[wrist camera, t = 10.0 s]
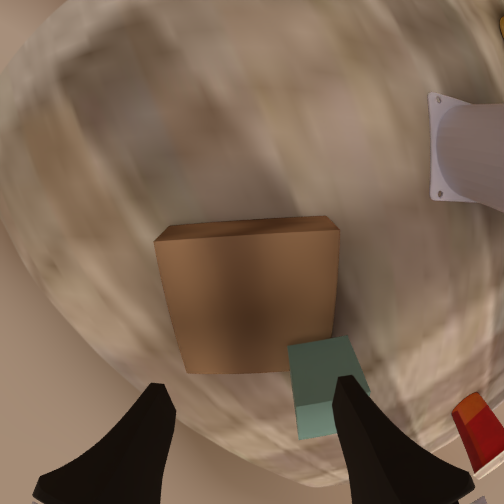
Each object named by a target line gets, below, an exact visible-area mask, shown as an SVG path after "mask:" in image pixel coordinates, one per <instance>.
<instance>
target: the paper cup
mask: <svg viewBox="0 0 504 504" xmlns="http://www.w3.org/2000/svg"><path fill="white" fill-rule="evenodd" d="M452 417H453V420H454V422H455V424H456V427H457V429H458V432H459V434H460V436H461V439H462V441H463V444H464V446H465V449H466V451H467V454H468V457H469V459H470V462H471V465H472V468H473V471H474V475H473V476H476V478H477V479H478V480H479V479H480V478H483V477H484V476H486V475H487V474H488V473H490V472H491V471H492V470H494V469H495V468H496V467H498V466H499V465H500V464H502V463H503V462H504V428H503V426H502V424H501V423H500V422H499V420H498V419H497V417H496V416H495V414H494V413H493V412H492V410H491V409H490V408H489V406H488V405H487V404H486V402H485V401H484V400H483V398H482V397H481V396H480V395H479V394H478V393H477V392H475V393H472V394H471V395H469V396H467V397H466V398H465V399H463V400H462V401H461V402H460V403H459V404H458V405H457V406H456V407H455V408H454V410H453V411H452Z"/></svg>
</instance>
